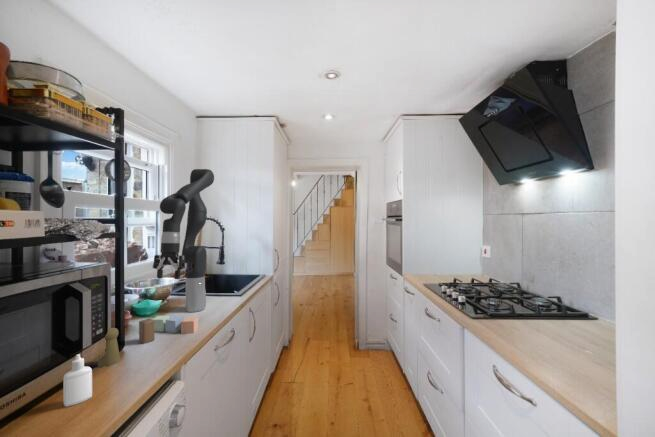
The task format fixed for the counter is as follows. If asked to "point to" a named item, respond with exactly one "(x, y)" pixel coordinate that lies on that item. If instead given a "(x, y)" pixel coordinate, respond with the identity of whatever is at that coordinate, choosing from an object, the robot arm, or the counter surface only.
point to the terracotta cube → (189, 325)
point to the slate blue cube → (174, 324)
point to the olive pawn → (110, 349)
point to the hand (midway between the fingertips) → (168, 278)
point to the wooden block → (146, 330)
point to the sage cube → (160, 323)
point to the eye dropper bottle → (77, 383)
